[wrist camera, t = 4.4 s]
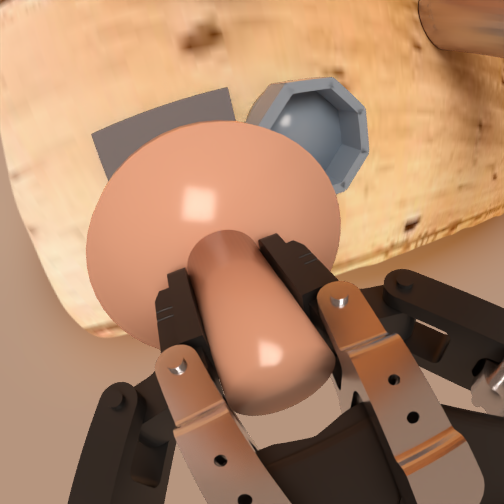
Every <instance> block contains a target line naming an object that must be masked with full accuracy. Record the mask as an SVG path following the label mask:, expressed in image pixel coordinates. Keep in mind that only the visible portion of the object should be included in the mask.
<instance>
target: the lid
mask: <svg viewBox="0 0 504 504" xmlns="http://www.w3.org/2000/svg"><path fill="white" fill-rule="evenodd" d="M340 228H341V219H340V211H339V204H338V201H337V197H336V193H335V190H334V188H333V186H332V184H331V181H330V179H329V177H328V176H327V174H326V173H325V171H324V170H323V168H322V167H321V165H320V164H319V163H318V162H317V161H316V160H315V158H314V157H313V156H312V155H311V154H310V153H309V152H308V151H306V150H305V149H304V148H303V147H301V146H300V145H299V144H298V143H296V142H294V141H293V140H291V139H289V138H287V137H286V136H284V135H282V134H280V133H277V132H274V131H272V130H269V129H266V128H264V127H260V126H257V125H253V124H248V123H244V122H239V121H227V120H212V121H202V122H196V123H192V124H188V125H184V126H180V127H177V128H174V129H172V130H170V131H167V132H165V133H162V134H160V135H158V136H157V137H155V138H153V139H152V140H150V141H148V142H147V143H145V144H144V145H142V146H141V147H140V148H139V149H137V150H136V151H135V152H134V153H132V154H131V155H130V156H129V157H128V158H127V159H126V160H125V161H124V162H123V163H122V164H121V165H120V167H119V168H118V169H117V170H116V171H115V172H114V174H113V175H112V177H111V178H110V180H109V182H108V183H107V185H106V186H105V188H104V190H103V192H102V194H101V197H100V199H99V201H98V203H97V205H96V208H95V210H94V212H93V215H92V218H91V222H90V226H89V230H88V234H87V244H86V259H87V269H88V274H89V278H90V282H91V285H92V287H93V290H94V292H95V295H96V297H97V299H98V300H99V302H100V304H101V306H102V307H103V309H104V310H105V311H106V313H107V314H108V315H109V316H110V318H111V319H112V320H113V321H114V322H115V323H116V324H117V325H118V326H119V327H120V328H121V329H123V330H124V331H125V332H127V333H128V334H129V335H131V336H132V337H134V338H136V339H137V340H139V341H141V342H143V343H145V344H147V345H149V346H152V347H155V348H157V349H160V342H159V335H158V327H157V318H156V309H155V300H156V297H157V295H158V292H159V291H161V290H164V289H166V288H169V286H168V279H167V274H169V273H171V272H174V271H176V270H179V269H182V268H184V267H185V268H186V270H187V273H188V275H189V277H190V281H191V285H192V289H193V292H194V296H195V299H196V303H197V306H198V310H199V313H200V317H201V320H202V324H203V327H204V330H205V334H206V337H207V340H208V343H209V347H210V350H211V355H212V358H213V361H214V364H215V367H216V370H217V374H218V377H219V380H220V383H221V386H222V388H223V391H224V394H225V397H226V400H227V403H228V405H229V407H230V408H231V409H232V410H233V411H234V412H236V413H239V414H243V415H248V416H256V415H257V416H258V415H266V414H271V413H275V412H279V411H281V410H284V409H286V408H289V407H292V406H294V405H296V404H298V403H299V402H301V401H303V400H305V399H306V398H308V397H309V396H311V395H312V394H313V393H315V392H316V391H317V390H318V389H319V388H320V387H321V386H322V385H323V384H324V383H325V382H326V381H327V380H328V378H329V377H330V375H331V374H332V372H333V370H334V367H335V362H336V360H335V356H334V354H333V352H332V351H331V349H330V348H329V346H328V345H327V344H326V342H325V341H324V339H323V338H322V336H321V335H320V334H319V332H318V331H317V329H316V328H315V326H314V325H313V324H312V322H311V321H310V319H309V318H308V317H307V315H306V314H305V312H304V311H303V309H302V308H301V307H300V305H299V304H298V302H297V301H296V300H295V298H294V297H293V295H292V294H291V293H290V291H289V290H288V288H287V287H286V285H285V284H284V283H283V281H282V280H281V278H280V277H279V276H278V274H277V273H276V271H275V270H274V269H273V267H272V266H271V264H270V263H269V262H268V260H267V259H266V257H265V256H264V255H263V253H262V252H261V250H260V248H259V243H258V240H259V239H261V238H264V237H267V236H269V235H272V234H275V233H277V234H278V235H279V236H280V237H281V238H282V239H283V240H284V241H285V243H287V242H290V241H292V240H294V241H297V242H299V243H301V244H304V245H305V246H306V247H307V248H308V249H309V250H310V251H311V253H313V254H314V255H315V256H316V257H317V259H319V260H320V261H321V262H322V263H323V265H324V266H325V267H326V268H327V269H328V270H329V271H331V269H332V266H333V264H334V261H335V258H336V254H337V250H338V247H339V240H340ZM160 350H161V349H160Z"/></svg>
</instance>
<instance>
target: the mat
mask: <svg viewBox="0 0 504 504" xmlns="http://www.w3.org/2000/svg"><path fill="white" fill-rule="evenodd" d="M212 120H227V121H236V120H235V116H234V112H233V108H232V104H231V99H230V95H229V91H228V87H226V88H222V89H218V90H214V91H210V92H206V93H202V94H199V95H195V96H192V97H188V98H185V99H182V100H179V101H175V102H172V103H169V104H166V105H163V106H160V107H157V108H154V109H151V110H149V111H146V112H143V113H141V114H138V115H135V116H133V117H130V118H128V119H125V120H123V121H120V122H118V123H115V124H113V125H111V126H108V127H106V128H104V129H101V130H99V131H97V132H95V133H93V134H91V135H92V138H93V141H94V144H95V147H96V149H97V152H98V155H99V158H100V160H101V163H102V166H103V168H104V171H105V173H106V176H107V178H108V181H109V180H110V178H111V177H112V175H113V174H114V172H115V171H116V170H117V169H118V168H119V167H120V165H121V164H122V163H123V162H124V161H125V160H126V159H127V158H128V157H129V156H130V155H131V154H132V153H134V152H135V151H136V150H137V149H139V148H140V147H141V146H142V145H144V144H145V143H147V142H148V141H150V140H152V139H153V138H155V137H157V136H158V135H160V134H162V133H165V132H167V131H170V130H172V129H174V128H177V127H180V126H184V125H188V124H192V123H196V122H202V121H212Z"/></svg>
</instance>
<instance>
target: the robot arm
mask: <svg viewBox="0 0 504 504" xmlns="http://www.w3.org/2000/svg"><path fill="white" fill-rule="evenodd" d="M419 15H420V19H421V23H422V25H423V28H424V30H425V32H426V34H427V35H428V37H429V38H430V40H431V41H432V42H433V44H434V45H436V46H437V47H438V48H440V49H442V50H449V51H459V52H467V53H475V54H482V55H488V56H494V57H500V58H504V0H419ZM258 243H259V248H260V250H261V252H262V253H263V255H264V256H265V257H266V259H267V260H268V262H269V263H270V264H271V266H272V267H273V269H274V270H275V271H276V273H277V274H278V276H279V277H280V278H281V280H282V281H283V283H284V284H285V285H286V287H287V288H288V290H289V291H290V293H291V294H292V295H293V297H294V298H295V300H296V301H297V302H298V304H299V305H300V307H301V308H302V309H303V311H304V312H305V314H306V315H307V317H308V318H309V319H310V321H311V322H312V324H313V325H314V326H315V328H316V329H317V331H318V332H319V334H320V335H321V336H322V338H323V339H324V341H325V342H326V344H327V345H328V346H329V348H330V349H331V351H332V352H333V354H334V356H335V360H336V362H335V367H334V370H333V372H332V374H331V375H330V377H331V379H332V382H333V384H334V387H335V389H336V392H337V395H338V398H339V404H340V409H341V412H342V415H340V416H339V417H338V418H337V419H336V420H335V421H334V422H333V423H331V424H330V425H329V426H328V427H326V428H325V429H324V430H323V431H322V432H320V433H319V434H318V435H317V436H314V437H312V438H308V439H303V440H297V441H293V442H287V443H281V444H274V445H271V446H269V447H266V448H263V449H261V450H259V448H258V447H257V445H256V444H255V443H254V441H253V440H252V438H251V437H250V435H249V434H248V432H247V431H246V429H245V428H244V426H243V425H242V423H241V421H240V420H239V418H238V417H237V415H236V414H235V412H234V411H233V410H232V409H231V408H230V407H229V405H228V403H227V400H226V397H225V395H224V394H223V390H222V387H221V384H220V381H219V377H218V374H217V370H216V367H215V364H214V361H213V358H212V355H211V350H210V347H209V343H208V340H207V337H206V334H205V330H204V327H203V324H202V320H201V317H200V313H199V310H198V306H197V303H196V299H195V296H194V292H193V289H192V285H191V281H190V277H189V275H188V273H187V270H186V268H185V267H184V268H182V269H179V270H176V271H174V272H171V273H169V274H167V279H168V286H169V288H166V289H164V290H161V291H159V292H158V295H157V297H156V300H155V309H156V318H157V327H158V335H159V342H160V349H161V354H160V356H159V357H158V359H157V361H156V364H155V371H154V373H153V374H152V375H151V376H149V377H148V378H147V379H145V380H144V381H142V382H141V383H139V384H138V385H136V386H135V387H133V386H132V385H130V384H129V383H125V382H118V383H115V384H112V385H111V386H109V387H108V388H107V389H106V390H105V391H104V392H103V394H102V395H101V398H100V400H99V403H98V406H97V409H96V411H95V414H94V417H93V420H92V423H91V426H90V428H89V431H88V434H87V437H86V440H85V444H84V447H83V450H82V453H81V456H80V460H79V463H78V466H77V470H76V474H75V477H74V481H73V484H72V488H71V492H70V496H69V501H68V504H164V501H165V495H166V491H167V485H168V480H169V475H170V469H171V465H172V460H173V455H174V451H175V446H176V442H177V444H178V446H179V448H180V450H181V453H182V455H183V457H184V459H185V461H186V463H187V465H188V467H189V469H190V471H191V473H192V475H193V477H194V479H195V481H196V483H197V485H198V487H199V489H200V491H201V493H202V494H203V496H204V498H205V500H206V501H207V503H208V504H504V308H502V307H500V306H497V305H495V304H492V303H490V302H488V301H485V300H483V299H481V298H478V297H476V296H474V295H471V294H469V293H466V292H464V291H461V290H459V289H456V288H454V287H452V286H449V285H447V284H444V283H442V282H439V281H437V280H434V279H432V278H429V277H426V276H424V275H421V274H419V273H416V272H414V271H411V270H406V269H398V270H394V271H392V272H390V273H389V274H388V275H387V276H386V278H385V280H384V285H381V286H376V287H371V288H365V289H358V287H357V286H355V285H354V284H352V283H349V282H345V281H338V279H337V278H336V277H335V276H334V275H333V274H332V273H331V272H330V271H329V270H328V269H327V268H326V267H325V266H324V265H323V263H322V262H321V261H320V260H319V259H317V257H316V256H315V255H314V254H313V253H311V251H310V250H309V249H308V248H307V247H306V246H305V245H304V244H301V243H299V242H297V241H294V240H292V241H290V242H287V243H285V241H284V240H283V239H282V238H281V237H280V236H279V235H278V234H277V233H275V234H272V235H269V236H267V237H264V238H261V239H259V240H258ZM416 319H418V320H420V321H423V322H425V323H427V324H429V325H431V326H434V327H436V328H438V329H440V330H443V331H445V332H446V333H447V334H448V335H446V334H443V333H440V332H438V331H436V330H434V329H432V328H429V327H427V326H425V325H423V324H420V323H418V322H416ZM419 366H420V367H422V368H424V369H426V370H428V371H430V372H432V373H434V374H436V375H439V376H441V377H443V378H445V379H447V380H449V381H451V382H453V383H455V384H457V385H459V386H462V387H464V388H466V389H468V390H470V391H471V394H472V403H473V405H474V406H476V407H480V406H481V407H483V408H484V409H485V411H486V412H487V414H485V413H480V412H475V411H470V410H466V409H461V408H456V407H452V406H447V405H443V404H440V403H439V401H438V399H437V397H436V396H435V394H434V392H433V390H432V388H431V386H430V385H429V383H428V381H427V379H426V378H425V376H424V374H423V372H422V371H421V369H420V368H419Z"/></svg>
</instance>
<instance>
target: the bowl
mask: <svg viewBox="0 0 504 504" xmlns="http://www.w3.org/2000/svg"><path fill="white" fill-rule="evenodd" d="M245 123H248V124H253V125H257V126H260V127H264V128H266V129H269V130H272V131H274V132H277V133H280V134H282V135H284V136H286V137H287V138H289V139H291V140H293V141H294V142H296V143H298V144H299V145H300V146H301V147H303V148H304V149H305V150H306V151H308V152H309V153H310V154H311V155H312V156H313V157H314V158H315V160H316V161H317V162H318V163H319V164H320V165H321V167H322V168H323V170H324V171H325V173H326V174H327V176H328V177H329V179H330V181H331V184H332V186H333V188H334V190H335V193H336V194H338V193H341V192H344V191H345V190H347V188H348V187H349V185H350V183H351V182H352V180H353V179H354V177H355V175H356V174H357V172H358V170H359V169H360V167H361V166H362V164H363V162H364V161H365V159H366V157H367V156H368V154H369V153H368V152H369V141H368V129H367V118H366V108H365V107H364V106H363V105H362V104H361V103H360V102H359V101H358V100H357V99H356V98H355V97H354V96H353V95H352V94H351V93H350V92H349V91H348V90H347V89H346V88H345V87H343V86H342V85H341V84H340V83H339V82H338V81H337V80H336V79H335V78H332V77H315V78H305V79H298V80H289V81H284V82H279V83H273V84H271V85H269V86H268V87H267V89H266V90H265V92H263V93H262V94H261V95H260V96H259V97H258V99H257V100H256V101H255V103H254V104H253V106H252V108H251V109H250V111H249V114H248V117H247V120H246V122H245Z"/></svg>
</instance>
